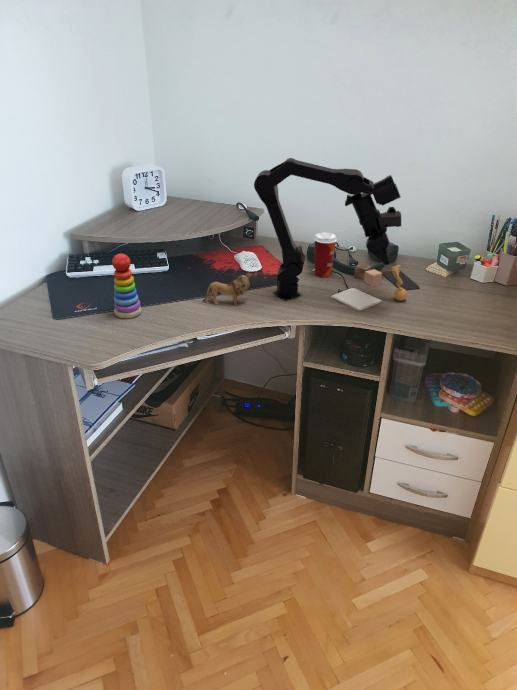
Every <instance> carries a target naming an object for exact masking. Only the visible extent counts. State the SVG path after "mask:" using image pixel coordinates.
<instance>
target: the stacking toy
mask: <svg viewBox="0 0 517 690" xmlns="http://www.w3.org/2000/svg"><path fill="white" fill-rule="evenodd" d="M111 264H112V267H113V269H114V272H113V276H114V281H113V282H114V284H113V288H114V291H113V294H114V296H113V297H114V298H113V301H114V309H113V312H114V314H115V316H116V317H118V318H121V319H132V318H135V317H137V316H139V315H140V314H141V312H142V306H141V301H140V299H139V295H138V294H137V293H138V291H137V289H136V283H135V277H134V276H133V275H132V272H133V271H132V269H130V267H131V259H130V257H129V256H128V255H126V254H124V253H117V254H115V255H114V256H113V258H112V260H111Z"/></svg>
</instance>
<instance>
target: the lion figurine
mask: <svg viewBox="0 0 517 690" xmlns="http://www.w3.org/2000/svg"><path fill="white" fill-rule="evenodd" d="M249 288H250V277H248V276H247V275H243V274H242V275H240V276H238V277H237V278H236V279H234V280H232V281H230V282H229V283H222V282H219V281H213V282H212V283H210V284H209V286H208V288H207V292H206V296H205V297H204V298H203V299H202V301H201V302H206V301H207V299H208V301H213V303H214V305H215V306H219V305H220V303H219V301H217V297H218V295H219V294H221V295H222V296H226V297H227V296H228V297H230V296H232V301H233V304H234V306H235V307H239V303H238V302H239V300H238V297H240V296H243V295H244V294H245V292H246V291H248V290H249ZM218 293H219V294H218Z"/></svg>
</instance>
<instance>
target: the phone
mask: <svg viewBox="0 0 517 690" xmlns="http://www.w3.org/2000/svg"><path fill="white" fill-rule="evenodd" d="M381 273H382V277H384V278H385V279H386V280H387V281H388V282H390V283H391V284H392V285H393V286H394V287H396V289H398V287H397V282H398V281H397V279H396V278H395V277H394V274H393V273H392V271H387V270H386V271H383V272H381ZM399 277H400V279H401V280H402V281H403V285H402V284H401V285H400V286H399V287H401V288H403V289H405V290H406V291H412V290H413V291H414V290H415V291H416V290H420V286H419V285H418V284H417V283H416V282H415V281H413V280H412V278H410V277H409V276H407V274H405V273H404V272H402V271H401V270H400V272H399ZM399 284H400V283H399Z"/></svg>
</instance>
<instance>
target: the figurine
mask: <svg viewBox="0 0 517 690" xmlns="http://www.w3.org/2000/svg"><path fill="white" fill-rule="evenodd" d="M401 268H402V267H401V264H397V265H394V266H392V267H391V271H392V273H393V274H394V277H395V278H396V279H397V281H398V282H397V287H398V288H397V287H396V289H395V290H394V292H393V295H394V296H393V297H394V299H395V300H396V301H399V302H402V301H404V300H406V298H407V297H408V292H407V291H408V290H405V289H403V288H401V287H399V286H400V285H401V284H402V285H403V281H402V280H401V279H400V277H399V272H400V271H401V270H400V269H401ZM399 283H400V284H399Z"/></svg>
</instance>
